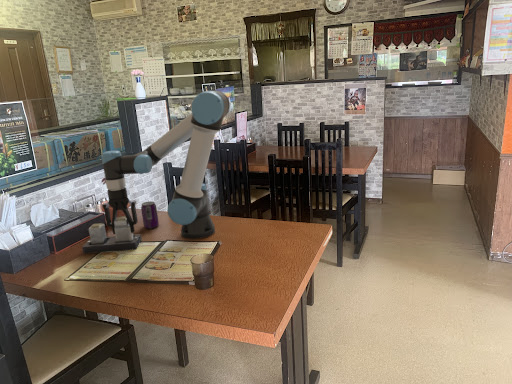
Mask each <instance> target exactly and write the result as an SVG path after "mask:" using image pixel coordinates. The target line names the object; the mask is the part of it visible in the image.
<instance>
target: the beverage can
mask: <svg viewBox="0 0 512 384" xmlns="http://www.w3.org/2000/svg"><path fill="white" fill-rule="evenodd" d="M140 210H141V216H142V223H143V224H142V225H143V228H146V229H154V228H157V227H158V226H159V224H160V221H159V216H158V210H157V204H156V202H155V201H145V202H142V203H141V208H140Z"/></svg>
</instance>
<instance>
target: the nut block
mask: <svg viewBox="0 0 512 384" xmlns="http://www.w3.org/2000/svg"><path fill="white" fill-rule="evenodd" d="M114 224H115V230H116V235H115V236H117V241H118V243H122V242H130V236H129V230H128V226H129V223H128V221H127V218H126V216H122V217H118V218H117V219H116V220H115V221H114Z"/></svg>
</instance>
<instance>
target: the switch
mask: <svg viewBox="0 0 512 384" xmlns="http://www.w3.org/2000/svg"><path fill="white" fill-rule="evenodd" d="M88 233H89V239H88V240H87V241H86V242H85V243H84V245H83V246H81V247H82V248H81V249H82V254H85V255H86V254H98V253H106V252H107V253H108V252H109V253H110V252H119V251H132V249H133V250H137V249H138V248H139V246H140V244H141V243H142V234H141V233H138V234H137V233H135V234H134V233H133V240H132V241H130V242H122V243H118V242H117V241H116V235H113V236H107V231H106V225H105V223H102V222H101V223H93V224H91V226H90V227H89V228H88ZM139 243H140V244H139ZM138 245H139V246H138Z"/></svg>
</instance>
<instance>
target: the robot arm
mask: <svg viewBox="0 0 512 384" xmlns="http://www.w3.org/2000/svg"><path fill="white" fill-rule="evenodd" d="M190 108H191V109H190V111H191V113H189V115H187V116H186V117H185V118H183V119H182V120H180V121H179V122H178V123H177V124H176V125H174V126H173V127H171V129H170V130H168V131H167V132H165V133H164V134H163V135H162V136H160V137H159V138H158V139H157V140H155V141H154V142H153V143H152V144H151V145H149V146H147V147H146V148H145V149H144V150H142V151H140V152H138V153H135V154H133V155H130V154H129V155H122V153H121V151H120V150H108V151H104V152H103V153H102V154H101V161H102V169H103V173H104V178H105V180H106V183H105V186H106V189H107V196H108V197H107V198H108V201H107V202H104V203H103V204H102V207H103V208H104V211H105V212H104V215H105V222H106V227H110V228H111V231H112V234H113V235H114V236H116V230H115V224H114V221H115V220H116V219H117V211H118V210H122V211H123V212H124V214H125V216H126V218H127V221H128V223H129V226H128V230H129V236H130V241H132V240H133V235H134V233H135V232H136V231H135V225H137V224H138V214H137V208H136V203H137V202H136V201H137V200H130V199H129V196H128V190H127V187H126V186H127V185H126V180H125V179H126V178H125V175H138V174H139V175H142V174H143V175H144V174H149V173H150V172H152V169H153V167H154V166H155V165H157V164H158V163H159V162H160V161H162V160H163V159H164V158H165V157H166V156H168V155H169V154H170V153H171V152H173V151H174V150H175V149H177V148H178V147H179V146H181V145H182V144H184V143H185V142H186V141H187V140H189V139H190V140H189V141H190V142H189V145H188V149H187V153H186V158H185V163H184V167H183V170H182V174H181V179H180V184H178V185H176V186H175V188H174V192H173V194H172V195H173V196H172V200H170V201H169V203H168V206H167V216H169V218H170V220H171V221H172V222H173V223H175V224H177V225H181V230H180V232H181V234H180V235H181V237H183V238H185V239H188V240H189V239H190V240H199V239H203V238H208V237H210V236H212V235H213V234H215V232H216V229H215V228H216V227H215V223H214V222H213V219H212V218H211V216H210V209H209V199H208V188H207V185H206V183H204V180H205V179H204V178H205V175H206V171H207V167H208V164H209V159H210V155H211V151H212V149H213V145H214V144H213V143H214V139H215V136H216V134H217V133H218V132H220V131H221V127H222V124H223V121H224V118H225V117H226V116H227V115H228V113H229V111H230V109H231V103H230V100H229V97H228V96H227V95H226V94H225V93H224V92H222V91H220V90H217V89H216V90H215V89H214V90H204V91H201V92H200V93H198V94H197V95H196V96H195V97H194V98H193V99H192V101H191V107H190ZM128 203H129V204H130V210H131V213H130V211H129V208H127V205H128ZM109 205H110V206H111V207H112V208H113V216H112V223H111V217H110V211H109ZM102 207H101V208H102ZM116 241H117V236H116ZM117 242H118V241H117Z"/></svg>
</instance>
